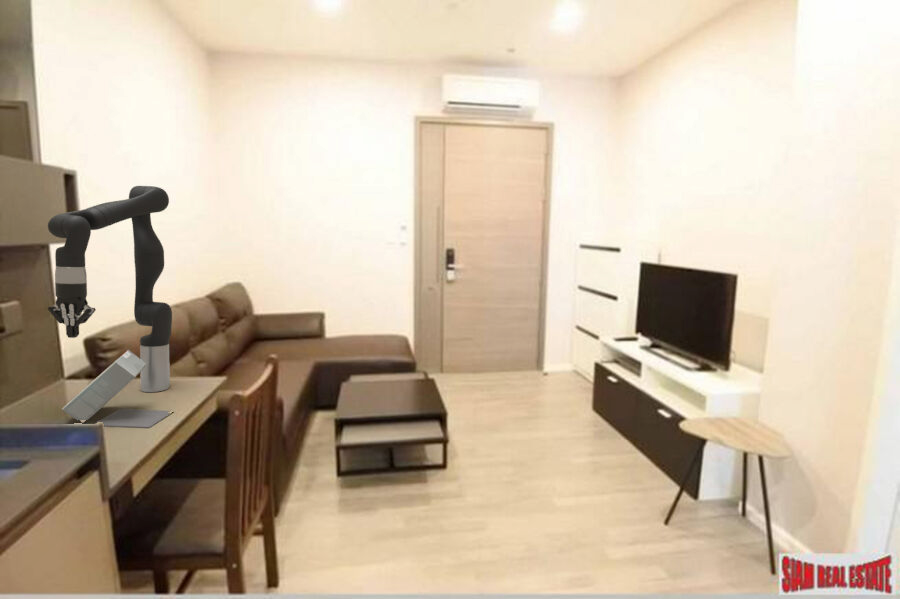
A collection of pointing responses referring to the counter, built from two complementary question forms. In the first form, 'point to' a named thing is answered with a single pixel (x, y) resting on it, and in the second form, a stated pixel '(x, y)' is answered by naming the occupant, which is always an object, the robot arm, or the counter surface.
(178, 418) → the counter surface
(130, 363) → the hard drive box
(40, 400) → the counter surface
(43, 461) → the counter surface
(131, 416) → the rubber mat
